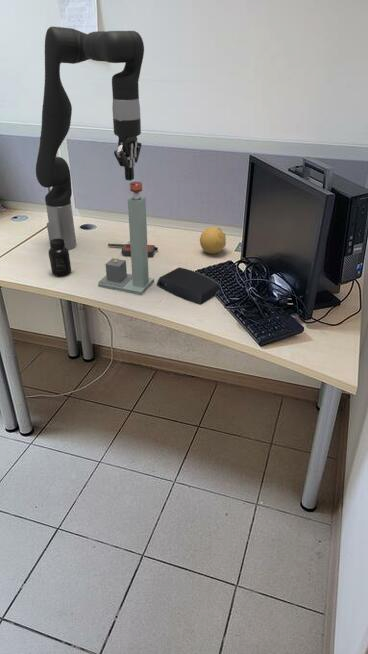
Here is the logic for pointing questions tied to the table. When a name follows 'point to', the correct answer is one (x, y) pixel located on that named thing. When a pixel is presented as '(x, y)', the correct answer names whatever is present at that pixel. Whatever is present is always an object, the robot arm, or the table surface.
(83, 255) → the table surface
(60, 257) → the supplement bottle
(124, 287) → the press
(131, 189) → the plunger
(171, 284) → the external hard drive
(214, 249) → the stress ball
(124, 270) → the block
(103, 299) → the table surface
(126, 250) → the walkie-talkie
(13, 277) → the table surface
